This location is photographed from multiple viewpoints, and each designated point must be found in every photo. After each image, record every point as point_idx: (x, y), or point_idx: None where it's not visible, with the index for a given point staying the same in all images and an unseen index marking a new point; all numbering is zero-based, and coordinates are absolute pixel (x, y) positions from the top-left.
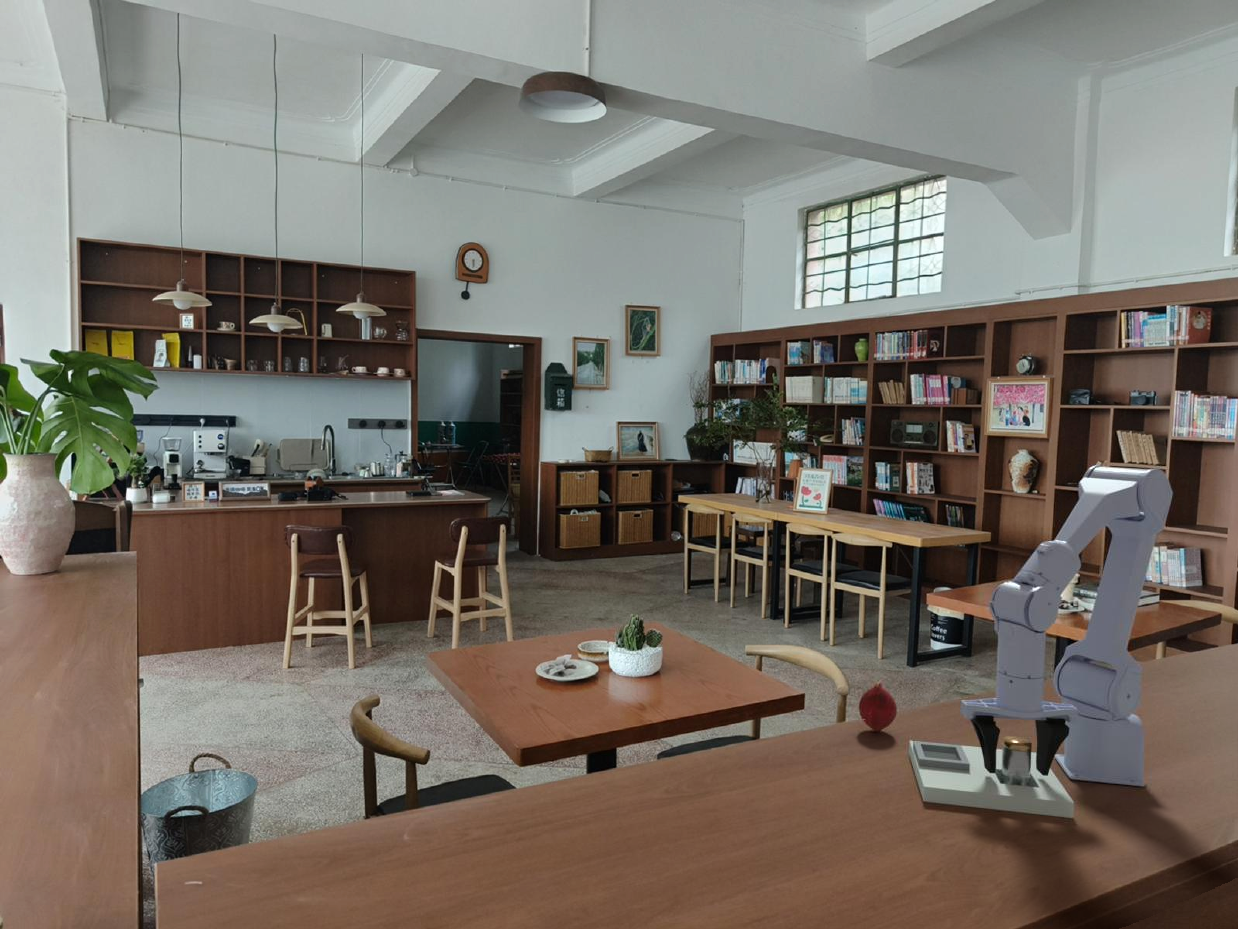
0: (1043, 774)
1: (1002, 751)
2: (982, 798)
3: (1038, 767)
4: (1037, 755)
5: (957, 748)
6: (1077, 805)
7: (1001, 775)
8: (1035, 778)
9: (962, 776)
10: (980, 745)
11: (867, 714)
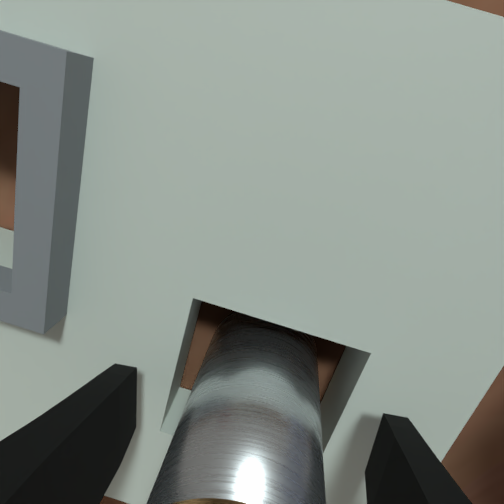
0: (366, 482)
1: (156, 480)
2: None
3: (381, 447)
4: (405, 485)
5: (27, 109)
6: (446, 457)
7: (197, 375)
8: (351, 410)
9: (20, 360)
10: (15, 432)
11: None
